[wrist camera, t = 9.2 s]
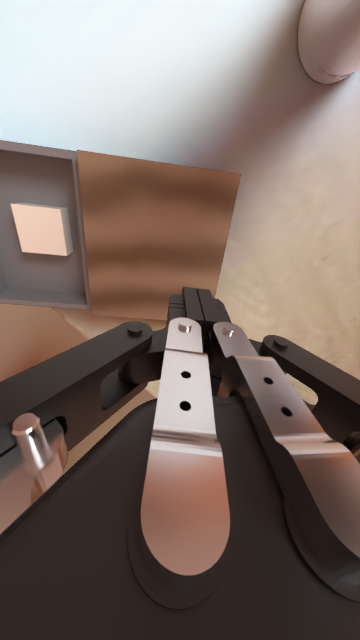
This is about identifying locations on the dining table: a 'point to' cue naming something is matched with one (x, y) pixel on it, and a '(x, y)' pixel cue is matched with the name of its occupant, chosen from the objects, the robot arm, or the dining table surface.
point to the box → (51, 190)
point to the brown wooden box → (151, 231)
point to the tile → (43, 228)
